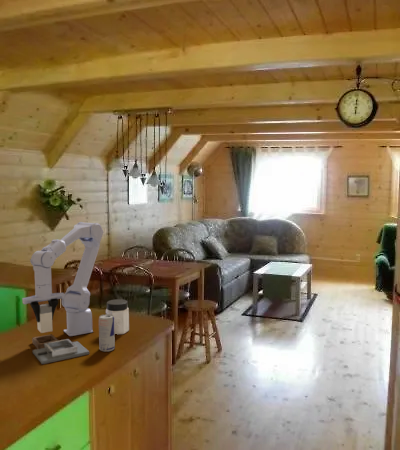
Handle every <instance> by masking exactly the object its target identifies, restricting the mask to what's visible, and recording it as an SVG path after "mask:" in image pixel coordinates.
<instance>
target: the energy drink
mask: <svg viewBox="0 0 400 450" xmlns="http://www.w3.org/2000/svg"><path fill="white" fill-rule="evenodd" d="M115 341H116V340H115V335H114V317H113V315H110V314H106V313H105V314H101V315H99V317H98V342H99V347H98V348H99V350H100V351H101V352H104V353H105V352H106V353H107V352H112V351H114V350H115V348H116V346H115V343H116V342H115Z"/></svg>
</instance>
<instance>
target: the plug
mask: <svg viewBox="0 0 400 450" xmlns="http://www.w3.org/2000/svg"><path fill="white" fill-rule="evenodd" d="M39 305H40V311H39V314H40V322H37V321H36V322H37V323H36V324H37V325H36V326H37V330H38V331H39V332H40V334H44V333H49V332H50V333H51V332H53V320H52V307H51V306H50V305H49V304H48V303H45V304H44V303H43V304H39Z"/></svg>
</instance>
